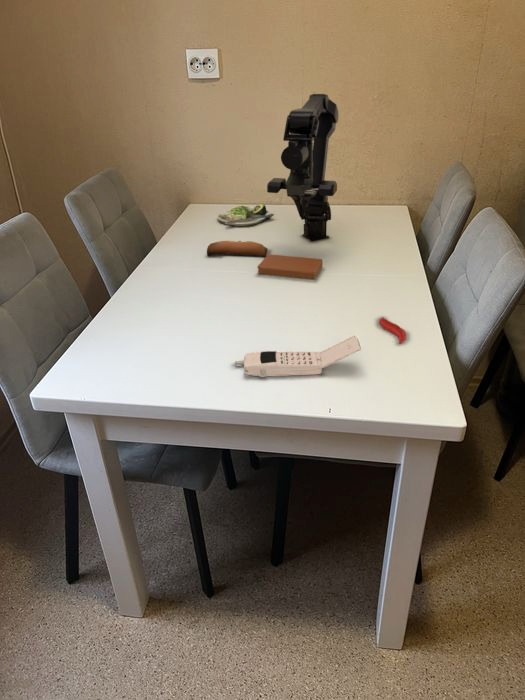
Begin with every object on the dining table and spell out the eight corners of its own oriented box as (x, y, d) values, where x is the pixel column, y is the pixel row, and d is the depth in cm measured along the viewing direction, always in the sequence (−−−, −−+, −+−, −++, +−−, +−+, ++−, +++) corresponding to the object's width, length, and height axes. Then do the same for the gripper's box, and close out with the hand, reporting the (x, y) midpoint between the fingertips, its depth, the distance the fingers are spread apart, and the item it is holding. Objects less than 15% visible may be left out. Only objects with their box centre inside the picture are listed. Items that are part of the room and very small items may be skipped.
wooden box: (314, 281, 150) (315, 273, 149) (258, 276, 155) (258, 267, 154) (322, 269, 158) (322, 260, 156) (268, 264, 162) (267, 255, 161)
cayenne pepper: (409, 343, 121) (410, 335, 120) (388, 344, 121) (389, 336, 120) (396, 317, 132) (397, 310, 131) (377, 318, 132) (377, 311, 131)
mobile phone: (362, 349, 108) (232, 353, 109) (360, 375, 111) (234, 379, 112) (357, 334, 114) (233, 338, 114) (355, 359, 117) (235, 363, 117)
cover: (314, 273, 149) (314, 272, 148) (257, 268, 153) (257, 266, 153) (322, 260, 156) (322, 259, 156) (267, 255, 161) (267, 254, 160)
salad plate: (244, 233, 185) (243, 219, 183) (205, 223, 195) (204, 210, 193) (279, 217, 198) (279, 204, 196) (241, 209, 208) (240, 196, 205)
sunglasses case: (270, 247, 172) (268, 233, 166) (267, 266, 169) (265, 252, 163) (213, 245, 175) (209, 231, 169) (209, 264, 171) (205, 250, 166)
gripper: (259, 166, 148) (261, 223, 156) (329, 169, 142) (327, 228, 151) (272, 156, 157) (273, 211, 165) (338, 159, 151) (336, 216, 160)
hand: (301, 217), depth 160 cm, fingers closed
